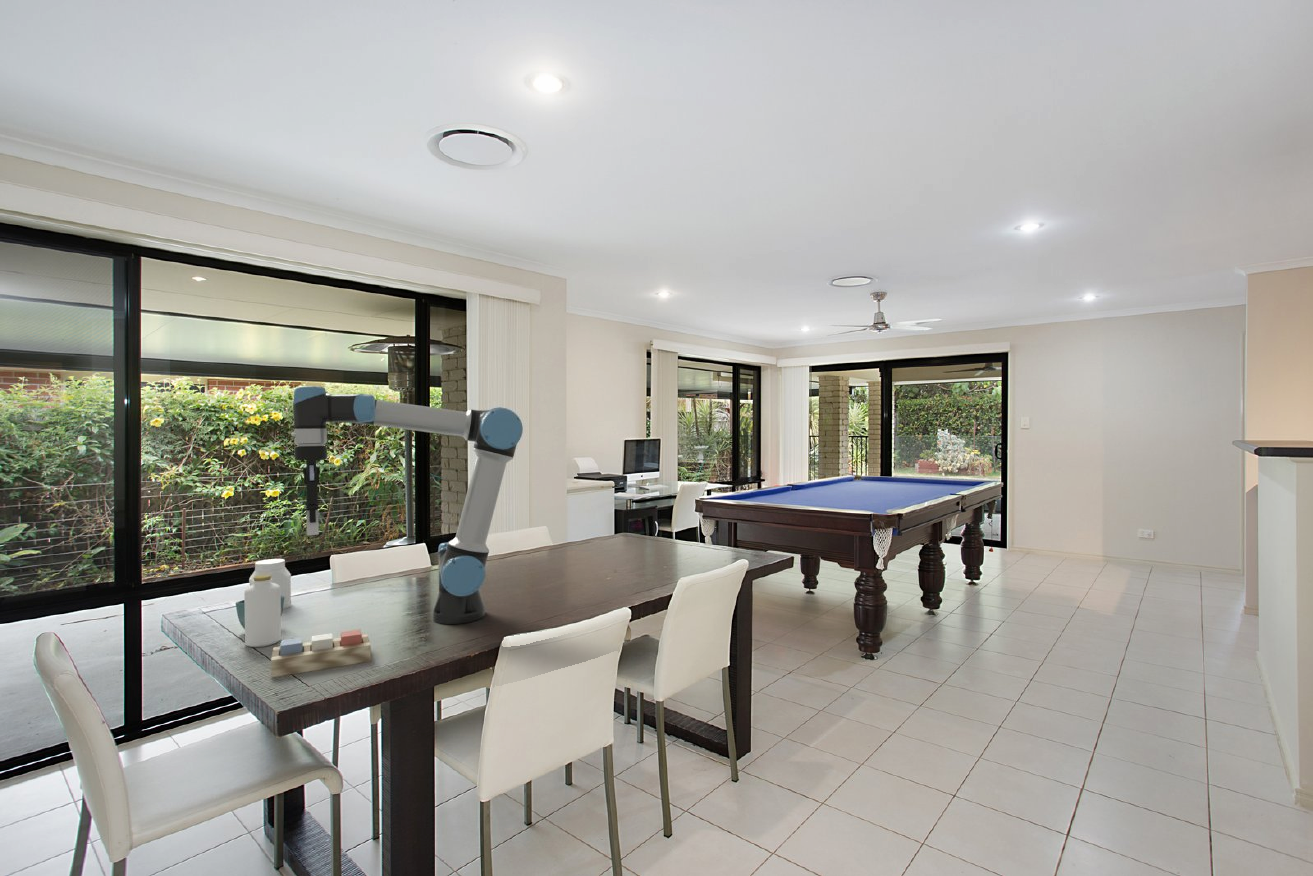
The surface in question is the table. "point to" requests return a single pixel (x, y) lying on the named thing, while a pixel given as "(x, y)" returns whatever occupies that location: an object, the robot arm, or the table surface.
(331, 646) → the white key
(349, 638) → the red key
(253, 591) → the potion bottle
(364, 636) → the wooden block holder
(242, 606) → the flower pot
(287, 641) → the blue short block
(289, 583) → the jar
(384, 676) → the table surface
